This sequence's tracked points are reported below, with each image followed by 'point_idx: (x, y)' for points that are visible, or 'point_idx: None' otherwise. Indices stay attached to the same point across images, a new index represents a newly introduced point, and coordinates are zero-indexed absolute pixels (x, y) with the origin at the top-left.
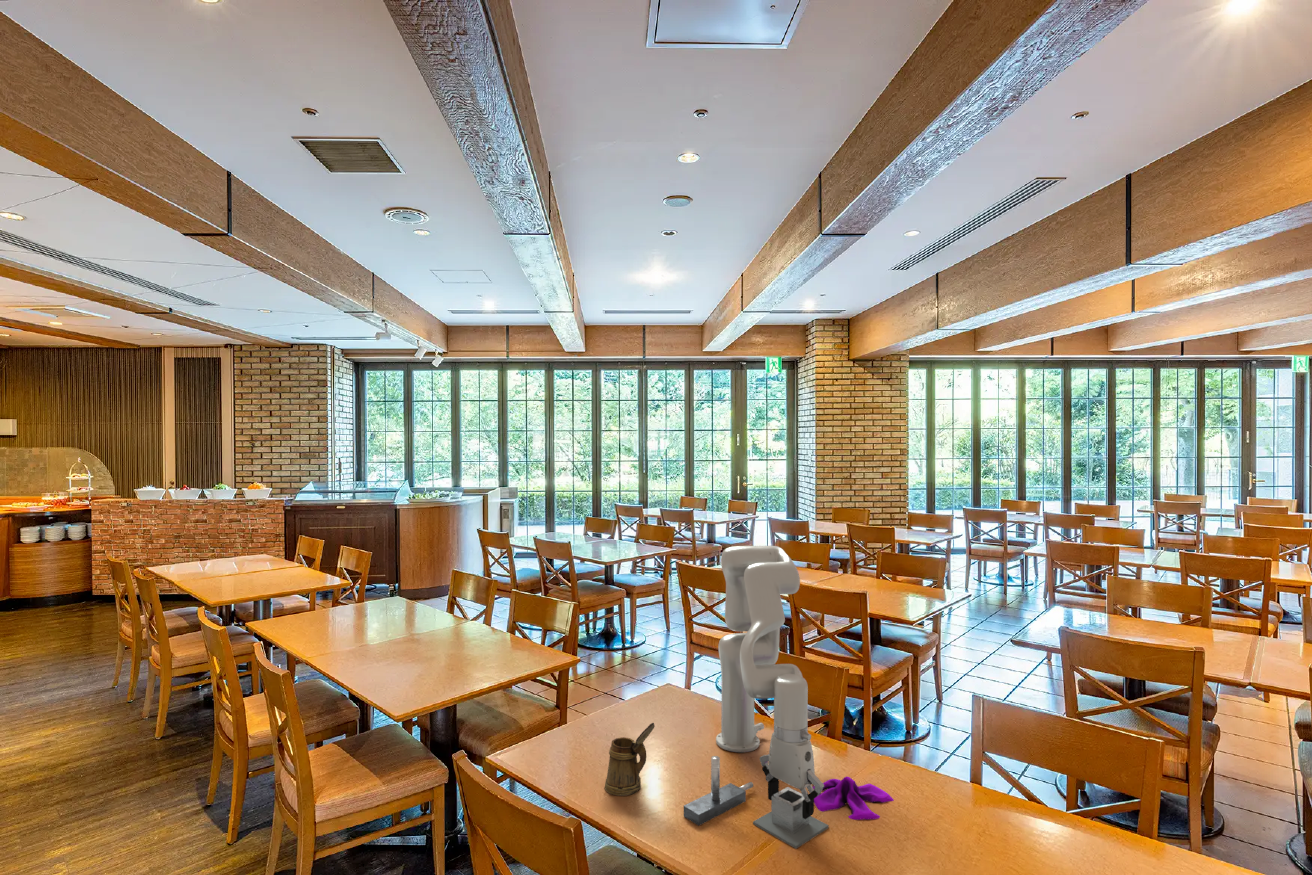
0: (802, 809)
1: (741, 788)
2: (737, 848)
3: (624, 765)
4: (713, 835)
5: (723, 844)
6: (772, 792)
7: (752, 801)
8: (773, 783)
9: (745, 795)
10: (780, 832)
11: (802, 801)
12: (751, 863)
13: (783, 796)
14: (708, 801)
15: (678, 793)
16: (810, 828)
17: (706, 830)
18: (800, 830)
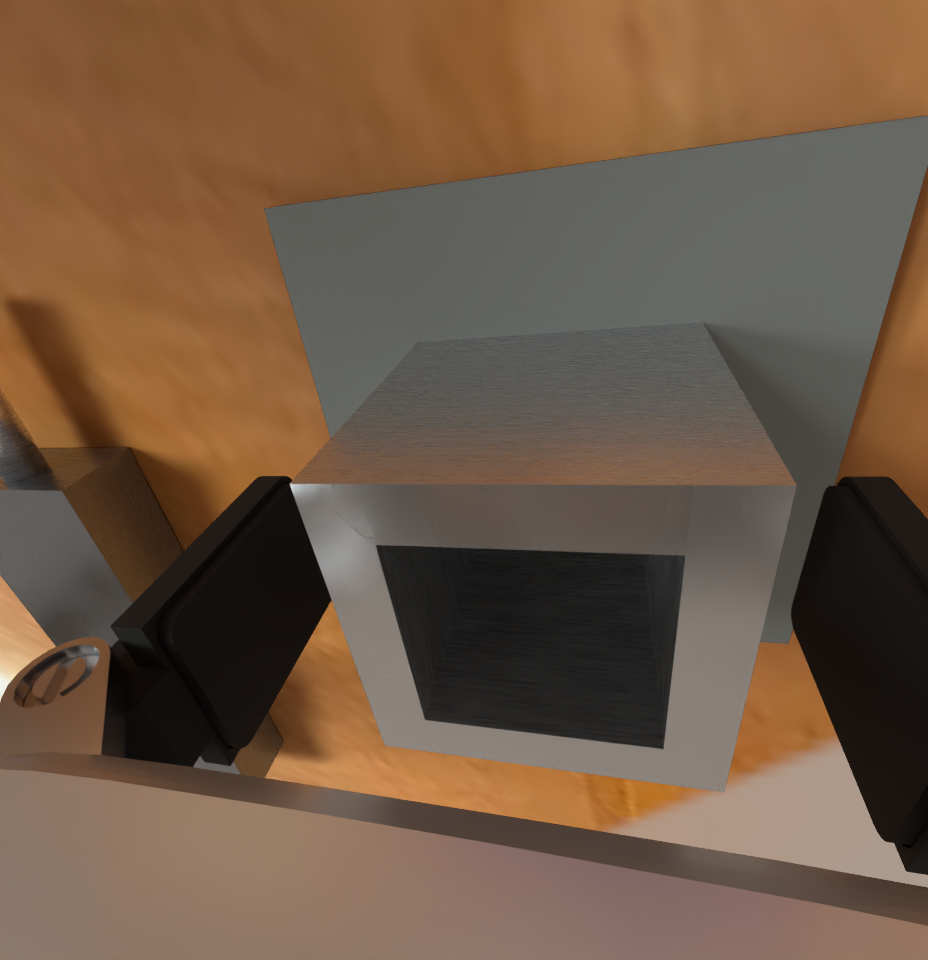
0: (823, 699)
1: (4, 453)
2: (519, 769)
3: None
4: (375, 755)
5: (456, 775)
6: (294, 627)
7: (139, 409)
8: (226, 706)
9: (95, 474)
10: None
11: (875, 826)
12: (650, 809)
13: (417, 598)
14: None
15: (3, 632)
16: (759, 376)
17: (328, 746)
18: None
